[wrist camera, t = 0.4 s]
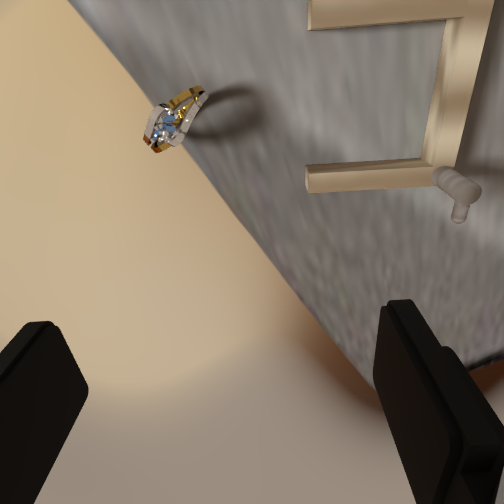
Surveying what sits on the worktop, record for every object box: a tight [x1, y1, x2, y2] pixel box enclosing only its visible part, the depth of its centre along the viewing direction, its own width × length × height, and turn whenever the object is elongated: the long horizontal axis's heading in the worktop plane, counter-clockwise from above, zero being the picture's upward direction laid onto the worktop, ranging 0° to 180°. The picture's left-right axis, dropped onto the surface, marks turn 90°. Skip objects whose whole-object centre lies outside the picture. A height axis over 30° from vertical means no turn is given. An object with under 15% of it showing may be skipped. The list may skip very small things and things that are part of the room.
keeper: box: [305, 0, 494, 224], centre depth 30 cm, size 18×14×8 cm
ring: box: [143, 86, 209, 153], centre depth 30 cm, size 7×3×8 cm, turn 126°
